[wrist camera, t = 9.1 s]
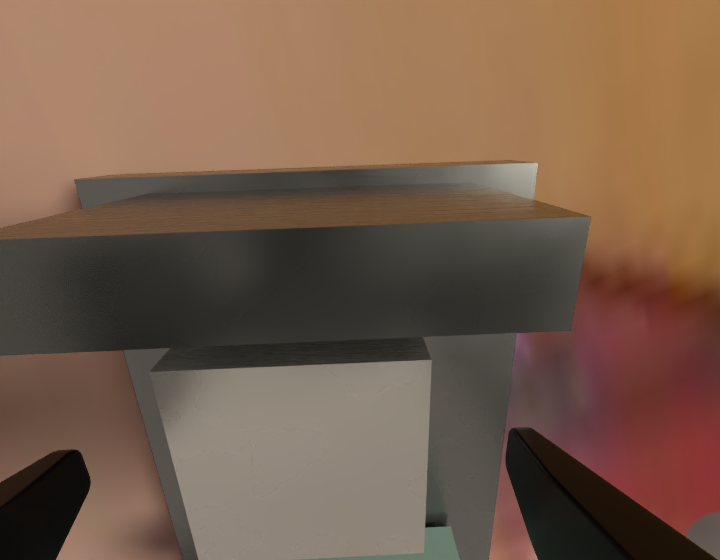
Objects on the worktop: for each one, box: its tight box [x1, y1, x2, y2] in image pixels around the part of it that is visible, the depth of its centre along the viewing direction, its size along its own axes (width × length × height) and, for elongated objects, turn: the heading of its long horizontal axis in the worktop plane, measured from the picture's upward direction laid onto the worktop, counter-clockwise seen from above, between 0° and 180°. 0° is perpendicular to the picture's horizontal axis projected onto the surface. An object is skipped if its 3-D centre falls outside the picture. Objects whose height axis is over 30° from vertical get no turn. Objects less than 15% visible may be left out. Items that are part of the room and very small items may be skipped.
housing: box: [149, 337, 432, 560], centre depth 10 cm, size 5×5×6 cm
